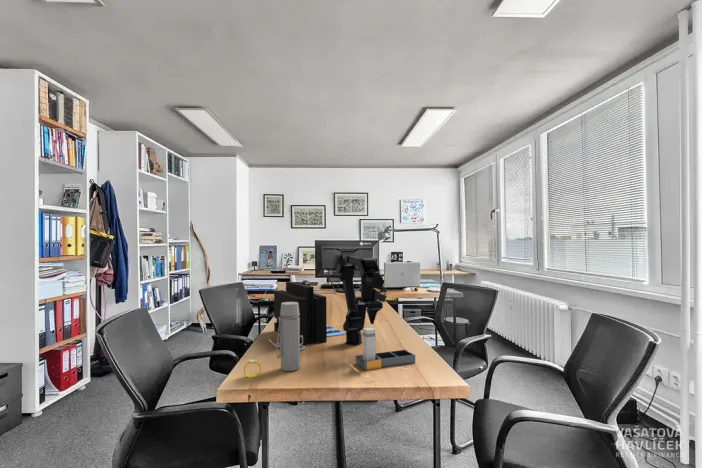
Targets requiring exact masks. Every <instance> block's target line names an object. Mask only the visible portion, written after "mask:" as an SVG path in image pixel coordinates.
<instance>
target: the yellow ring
mask: <svg viewBox="0 0 702 468" xmlns="http://www.w3.org/2000/svg"><path fill="white" fill-rule="evenodd" d="M249 364H256V365H258V366H259V370H258V372H257V373H256V374H253V375H248V374H247V373H246V371H245V370H246V367H248V365H249ZM243 366H244V367H243V374H244V376H245V377H246V378H250V379H251V378H257V377H258V376H259V375H260V374H261V372H262V370H261V369H262V368H261V364H260V363H259V361H257V359H249V360H248V362H246V363H245V364H244V365H243Z"/></svg>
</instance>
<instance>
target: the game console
mask: <svg viewBox="0 0 702 468" xmlns="http://www.w3.org/2000/svg"><path fill="white" fill-rule="evenodd" d="M314 290H315V289H314V286H311V285H308V284H304V283H299V282H295V281H285V290H282V289H279V290H274V291H273V298H274V299H273V313H274V314H273V318H275V319H276V321H274V323H273V327H274V328H273V330H274V332H275V333H276V332H277V333H276V334H278V329H279V334H280V328H279V319H278V317H280V316H281V315H280V311H281V303H284V302H298V305H299V314H300V316H298V317H299V318H300V336H303V344H302V346H305V347H306V346H308V345H314V344H324V343H327V341H328V340H327V339H328V338H331V337H332V336H333V337H340V336H344V335H345V336H346V331H342V332H341V330H339V329H336V328H334V327H331V325H328V324H327V322H328V321H327V296H325V295H322V294H319V293H315V291H314ZM280 318H282V317H280ZM280 327H281V322H280ZM339 335H340V336H339ZM301 343H302V337H300V344H301Z"/></svg>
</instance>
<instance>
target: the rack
mask: <svg viewBox="0 0 702 468" xmlns="http://www.w3.org/2000/svg"><path fill="white" fill-rule="evenodd" d="M415 363H416V354H415V353H412V352H411V351H408V350H407V349H399V350H393V351H392V350H391V351H383V352H382V351H381V352H375V360H370V361H364V360H363V354H359V355H355V365H357V366H358V367H359V368H360V369H362V370H364V371H369V370H371V371H372V370H375V369H376V370H377V369H382V368H389V367H395V366H403V365H409V364H415Z"/></svg>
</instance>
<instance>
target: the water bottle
mask: <svg viewBox="0 0 702 468" xmlns="http://www.w3.org/2000/svg"><path fill="white" fill-rule="evenodd" d="M280 315H281V316H280V317H282V318H280V317H278V319H279V328H280V335H279V329H278V333H277V340H276V344H277V347H275V348H276V350H275V354H276V359H280V369H281V370H282V371H285V372H295V371H297V370H299V369H300V366H301V365H300V364H301V362H300V361H301V359H300V357H301V353H300V351H301V350H300V349H301V346H300V318H299V317H298V316H300V314H299V305H298V302H284V303H281V311H280ZM280 322H281V327H280ZM278 343H280V344H278ZM278 345H280V348H279V347H278ZM278 349H280V350H279V353H280V354H278Z"/></svg>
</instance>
